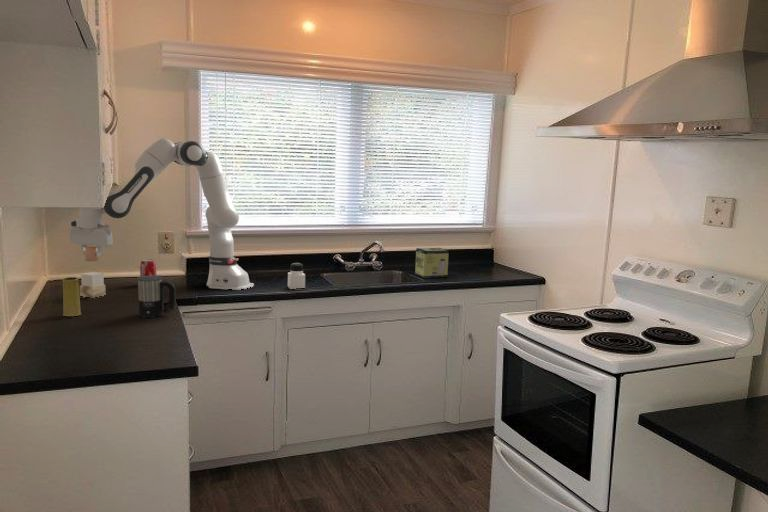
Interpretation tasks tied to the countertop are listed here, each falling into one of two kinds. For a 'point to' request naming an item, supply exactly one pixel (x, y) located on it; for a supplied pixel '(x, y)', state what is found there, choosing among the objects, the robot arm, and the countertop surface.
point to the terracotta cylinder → (91, 253)
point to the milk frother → (154, 295)
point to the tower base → (92, 291)
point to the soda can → (147, 267)
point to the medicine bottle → (296, 276)
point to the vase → (71, 297)
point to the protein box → (431, 262)
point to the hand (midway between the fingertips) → (91, 255)
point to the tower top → (92, 279)
